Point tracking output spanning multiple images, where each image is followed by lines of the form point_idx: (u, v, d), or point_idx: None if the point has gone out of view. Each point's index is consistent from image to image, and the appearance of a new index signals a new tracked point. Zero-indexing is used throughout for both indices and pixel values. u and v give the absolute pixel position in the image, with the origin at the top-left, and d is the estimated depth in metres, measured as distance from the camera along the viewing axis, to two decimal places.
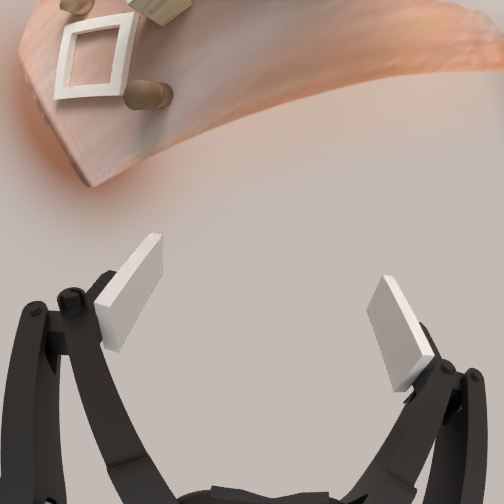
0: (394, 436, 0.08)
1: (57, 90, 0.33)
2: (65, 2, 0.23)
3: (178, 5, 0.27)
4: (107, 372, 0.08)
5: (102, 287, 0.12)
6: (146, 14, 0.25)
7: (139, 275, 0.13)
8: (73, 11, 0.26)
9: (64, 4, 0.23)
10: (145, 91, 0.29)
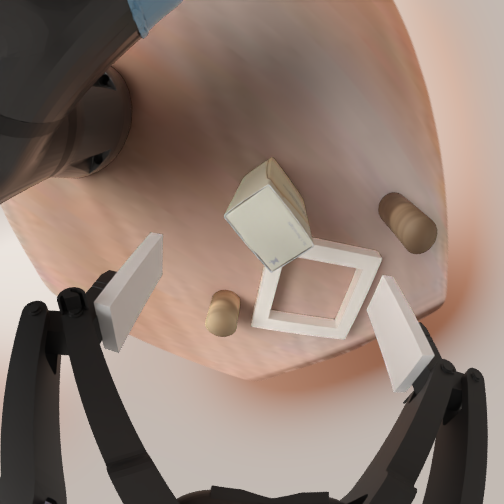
0: (394, 436, 0.08)
1: (336, 334, 0.39)
2: (222, 329, 0.36)
3: (283, 175, 0.29)
4: (107, 372, 0.08)
5: (102, 287, 0.12)
6: (307, 218, 0.26)
7: (139, 275, 0.13)
8: (237, 317, 0.37)
9: (225, 330, 0.36)
10: (421, 225, 0.24)
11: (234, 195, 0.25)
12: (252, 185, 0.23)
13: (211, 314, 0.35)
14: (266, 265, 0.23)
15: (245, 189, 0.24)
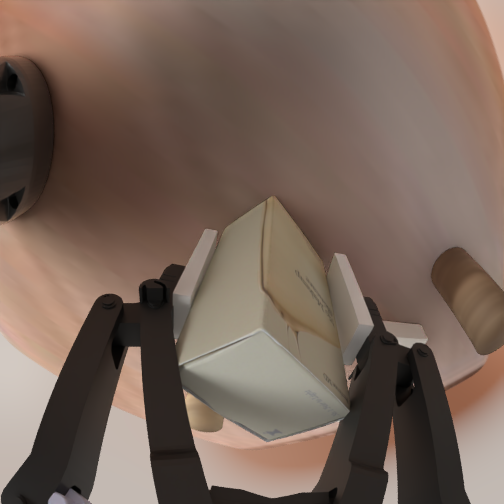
0: (348, 419, 0.09)
1: None
2: (203, 426, 0.24)
3: (293, 235, 0.16)
4: (176, 366, 0.08)
5: (170, 279, 0.13)
6: (335, 325, 0.14)
7: (204, 268, 0.14)
8: None
9: (208, 427, 0.24)
10: None
11: (198, 291, 0.13)
12: (229, 287, 0.11)
13: (187, 412, 0.23)
14: (258, 434, 0.10)
15: (216, 290, 0.11)
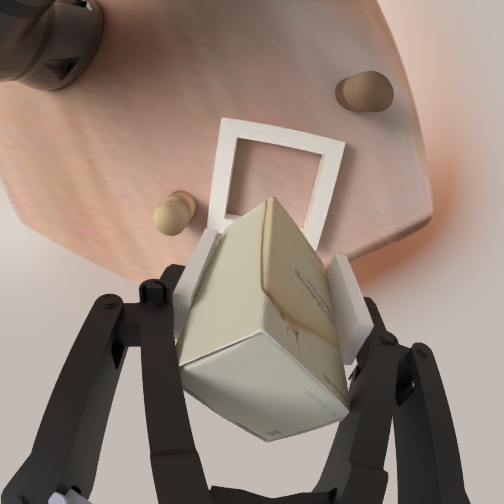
0: (347, 419, 0.09)
1: None
2: (171, 225, 0.33)
3: (293, 235, 0.16)
4: (176, 365, 0.08)
5: (170, 279, 0.13)
6: (335, 325, 0.14)
7: (205, 268, 0.14)
8: (189, 215, 0.34)
9: (174, 226, 0.33)
10: (371, 79, 0.21)
11: (198, 292, 0.13)
12: (229, 288, 0.11)
13: None
14: (258, 435, 0.10)
15: (216, 291, 0.11)
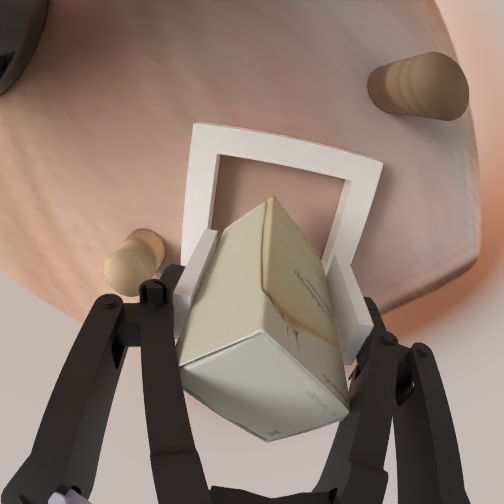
0: (347, 419, 0.09)
1: None
2: (127, 283, 0.22)
3: (293, 235, 0.16)
4: (176, 366, 0.08)
5: (171, 279, 0.13)
6: (335, 325, 0.14)
7: (205, 268, 0.14)
8: (154, 267, 0.23)
9: (132, 285, 0.22)
10: (439, 66, 0.10)
11: (198, 292, 0.13)
12: (229, 288, 0.11)
13: None
14: (258, 435, 0.11)
15: (216, 291, 0.11)
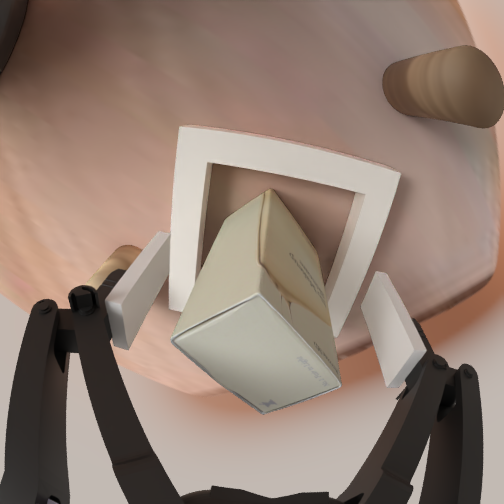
0: (388, 433, 0.08)
1: None
2: None
3: (289, 224, 0.17)
4: (116, 370, 0.08)
5: (112, 285, 0.12)
6: (327, 306, 0.15)
7: (149, 274, 0.13)
8: None
9: None
10: (474, 62, 0.07)
11: (201, 271, 0.14)
12: (230, 265, 0.12)
13: None
14: (254, 406, 0.12)
15: (217, 269, 0.13)
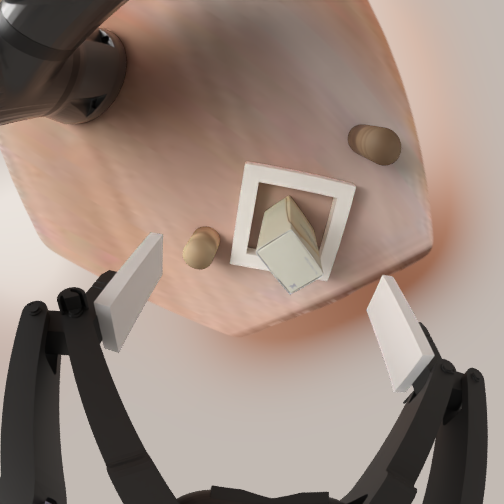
0: (394, 436, 0.08)
1: None
2: (199, 260, 0.37)
3: (299, 213, 0.35)
4: (107, 372, 0.08)
5: (102, 287, 0.12)
6: (317, 250, 0.33)
7: (139, 275, 0.13)
8: (215, 250, 0.38)
9: (202, 261, 0.37)
10: (382, 135, 0.25)
11: (260, 231, 0.32)
12: (276, 225, 0.30)
13: (188, 243, 0.36)
14: (286, 289, 0.29)
15: (270, 228, 0.30)
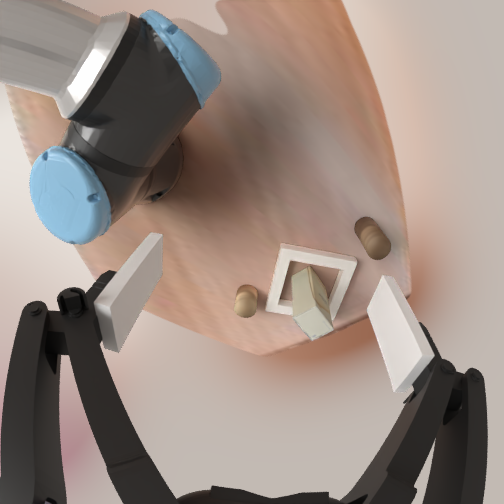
0: (394, 436, 0.08)
1: None
2: (246, 312, 0.52)
3: (317, 280, 0.50)
4: (107, 372, 0.08)
5: (102, 287, 0.12)
6: (329, 308, 0.48)
7: (139, 275, 0.13)
8: (256, 303, 0.53)
9: (248, 313, 0.52)
10: (379, 241, 0.40)
11: (293, 299, 0.47)
12: (304, 298, 0.45)
13: (238, 301, 0.51)
14: (310, 337, 0.45)
15: (300, 299, 0.46)
